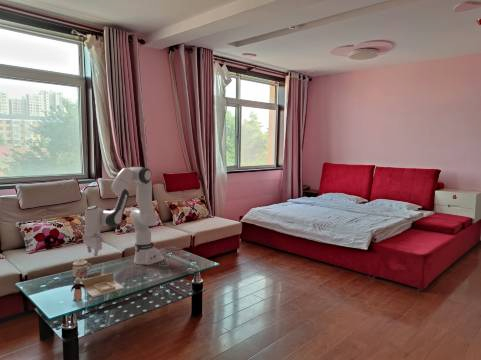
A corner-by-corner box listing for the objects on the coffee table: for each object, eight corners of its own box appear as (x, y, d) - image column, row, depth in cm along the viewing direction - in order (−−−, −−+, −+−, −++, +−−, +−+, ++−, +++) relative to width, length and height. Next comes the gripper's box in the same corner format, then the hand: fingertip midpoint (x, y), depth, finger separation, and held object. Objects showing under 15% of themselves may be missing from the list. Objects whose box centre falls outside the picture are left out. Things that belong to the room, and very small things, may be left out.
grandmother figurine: (71, 302, 188) (71, 280, 187) (70, 300, 191) (69, 277, 190) (86, 299, 193) (86, 277, 191) (85, 296, 196) (84, 275, 195)
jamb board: (103, 275, 229) (103, 266, 228) (124, 288, 208) (124, 279, 207) (73, 282, 215) (73, 273, 215) (92, 297, 195) (92, 287, 194)
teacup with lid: (75, 279, 220) (75, 262, 219) (70, 275, 226) (70, 258, 225) (94, 275, 228) (94, 258, 227) (89, 271, 235) (89, 255, 234)
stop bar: (98, 277, 221) (98, 270, 221) (100, 279, 219) (100, 272, 218) (85, 281, 216) (85, 273, 215) (88, 282, 213) (87, 275, 213)
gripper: (104, 234, 209) (104, 257, 210) (91, 228, 224) (91, 249, 225) (94, 236, 205) (94, 259, 206) (81, 230, 219) (81, 251, 220)
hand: (92, 254), depth 216 cm, fingers open, 8 cm apart
